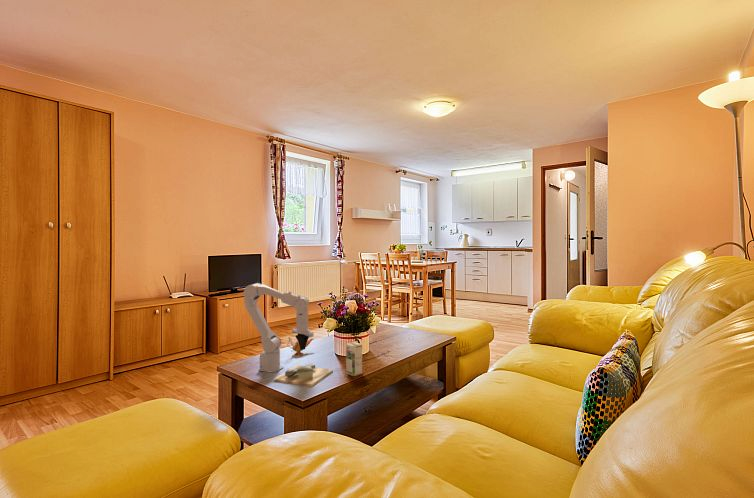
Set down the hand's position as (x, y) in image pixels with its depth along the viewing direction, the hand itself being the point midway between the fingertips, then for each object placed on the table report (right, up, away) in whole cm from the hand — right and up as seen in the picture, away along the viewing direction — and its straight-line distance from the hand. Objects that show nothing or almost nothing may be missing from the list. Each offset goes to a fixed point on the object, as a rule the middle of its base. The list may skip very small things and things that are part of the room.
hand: (302, 349), depth 185 cm
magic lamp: (-7, -10, +28) cm, 31 cm away
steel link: (0, -8, -8) cm, 12 cm away
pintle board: (+2, -11, -8) cm, 14 cm away
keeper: (+4, -10, -12) cm, 16 cm away
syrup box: (+26, -11, -5) cm, 28 cm away
